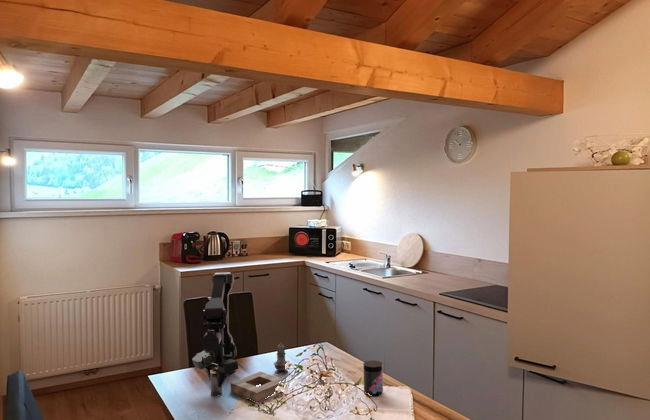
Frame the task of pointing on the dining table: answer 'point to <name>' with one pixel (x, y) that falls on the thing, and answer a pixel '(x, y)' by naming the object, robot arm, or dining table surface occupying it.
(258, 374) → the holder block
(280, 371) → the weathered candle holder
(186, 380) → the dining table surface
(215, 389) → the battery cell
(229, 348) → the robot arm
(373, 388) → the supplement container
